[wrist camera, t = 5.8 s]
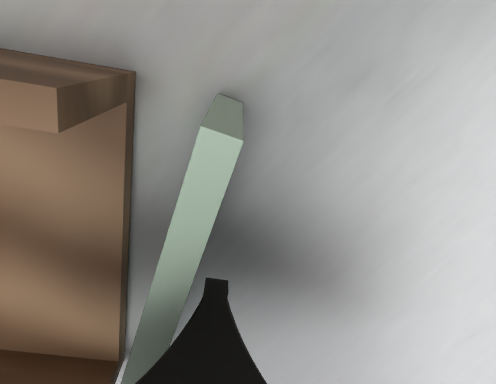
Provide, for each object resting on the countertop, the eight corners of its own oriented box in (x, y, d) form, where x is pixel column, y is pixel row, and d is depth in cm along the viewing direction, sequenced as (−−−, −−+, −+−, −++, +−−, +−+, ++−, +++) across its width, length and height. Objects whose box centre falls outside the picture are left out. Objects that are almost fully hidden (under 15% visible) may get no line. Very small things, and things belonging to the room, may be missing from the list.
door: (148, 377, 19) (110, 515, 13) (127, 372, 18) (79, 510, 13) (244, 103, 13) (248, 142, 8) (215, 92, 13) (196, 124, 7)
